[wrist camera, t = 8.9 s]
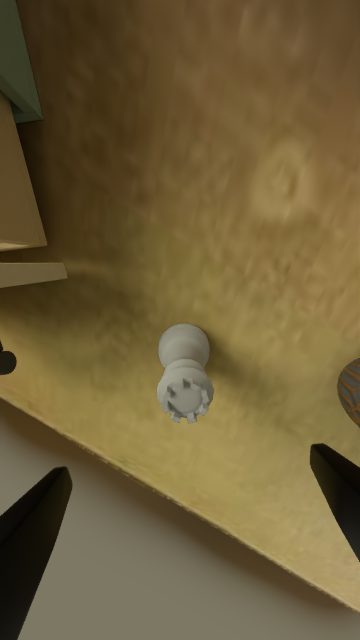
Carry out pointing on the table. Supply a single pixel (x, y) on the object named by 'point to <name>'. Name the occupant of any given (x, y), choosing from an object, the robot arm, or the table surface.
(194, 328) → the rook chess piece
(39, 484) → the robot arm
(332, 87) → the table surface
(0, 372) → the drawer
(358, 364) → the vase
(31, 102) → the cabinet
